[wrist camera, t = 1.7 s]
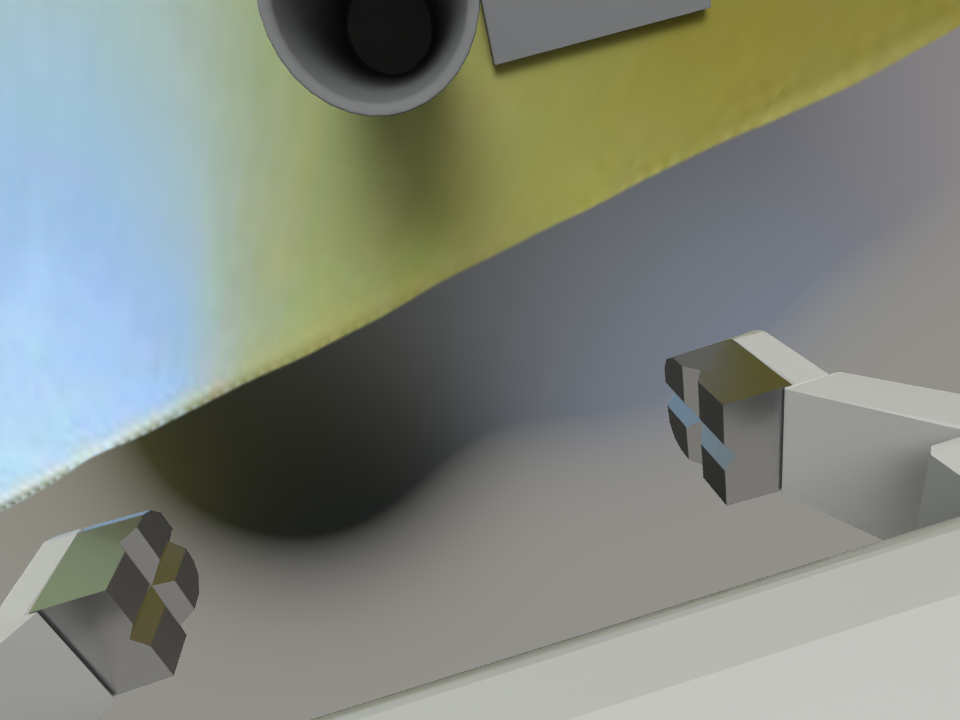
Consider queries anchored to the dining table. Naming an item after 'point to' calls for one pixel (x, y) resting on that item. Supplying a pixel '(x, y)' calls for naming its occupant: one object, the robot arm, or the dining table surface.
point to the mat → (568, 22)
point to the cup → (372, 48)
